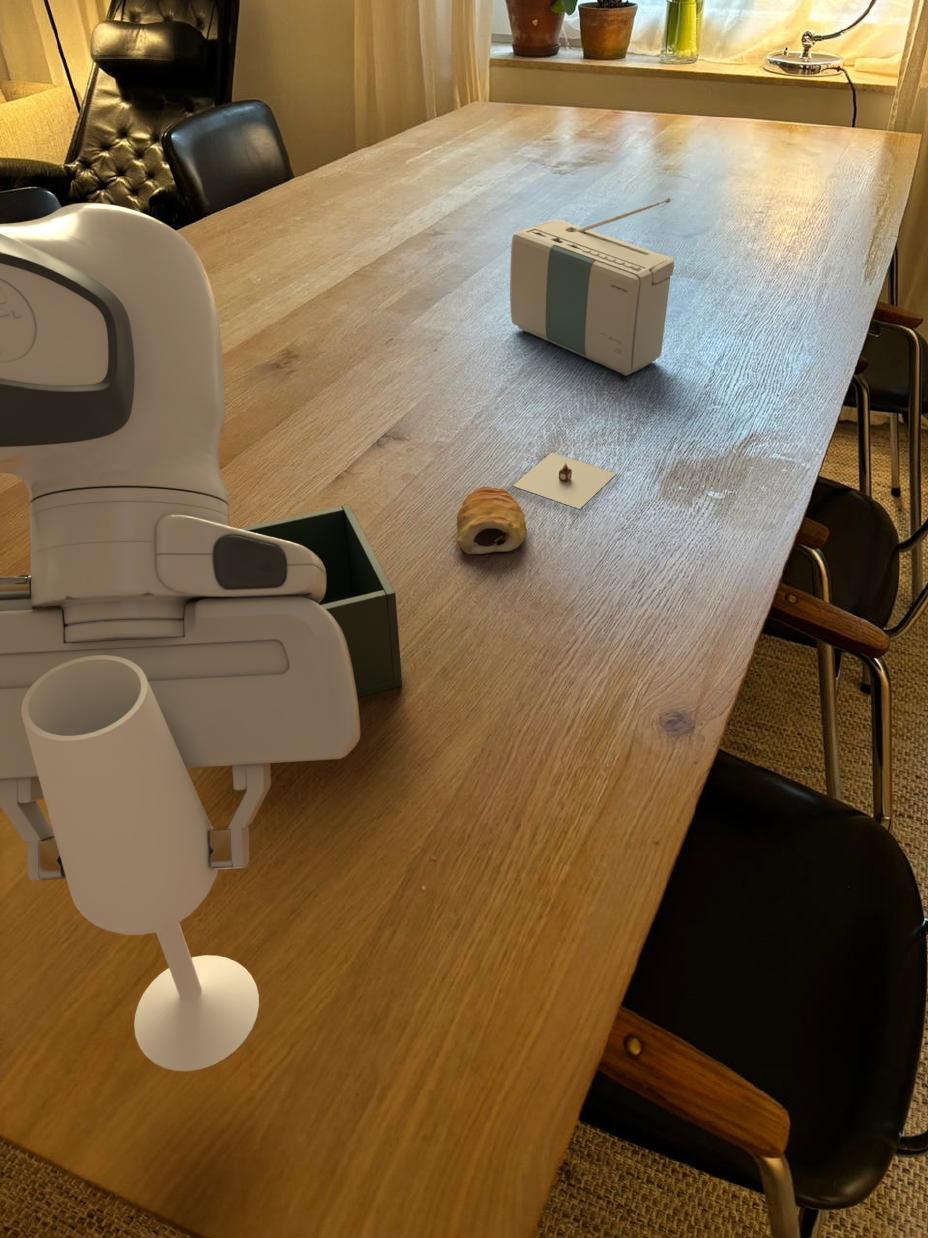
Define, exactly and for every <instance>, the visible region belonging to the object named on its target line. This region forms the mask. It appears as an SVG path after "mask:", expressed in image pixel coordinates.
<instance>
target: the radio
mask: <svg viewBox="0 0 928 1238" xmlns="http://www.w3.org/2000/svg"><path fill="white" fill-rule="evenodd" d="M664 203H665V204H669V203H671V198H670V197H667V198H665V199H664V200H663V201H660V202H656V203H653V204H649V205H647V206H644V207H643V206H642V207H639V208H637V209H634V210H630V211H627V212H624V213H621V214H618V215H615V216H612V217H609V218H606V219H604V220H601V221H597V222H595V223H592V224H589V225H586V226H583V227H582V226H579V225H576V224H573V223H570V222H567V221H564V220H561V219H550V220H548V221H544V222H541V223H537V224H534V225H532V226H531V227H528V228H524V229H521V230H519V231H516V232H514V233H513V234H512V237H511V247H510V248H511V249H510V273H509V274H510V276H509V277H510V279H509V301H510V319H511V323H512V324H513V325H514V326H516V327H518V329H520V330H522V331H523V332H526V333H529V334H531V335H533V336H535V337H538V338H540V339H542V340H545V341H546V342H549V343H552V344H554V345H555V346H558V347H561V348H563V349H565V350H567V351H569V352H572V353H574V354H576V355H578V356H581V357H584V358H586V359H587V360H590V361H592V362H595V363H596V364H599V365H602V366H604V367H605V368H608V369H610V370H613V371H615V372H617V373H619V374H622V375H623V376H629V375H631V374H633V373H636V372H637V371H639V370H641V369H643V368H645V367H646V366H648V365H650V364H652V363H653V362H655V361H656V360H657V359H658V358H660V357H661V355H662V349H663V344H664V343H663V341H664V336H665V335H664V334H665V326H666V318H667V310H668V302H669V294H670V293H669V292H670V284H671V277H672V276H673V273H674V270H675V258H673V257H671V256H667V255H664V254H661V253H658V252H655V251H652V250H650V249H647V248H644V247H641V246H638V245H635V244H633V243H629V242H626V241H623V240H620V239H617V238H614V237H611V236H609V235H606V234H602V233H600V232H596V231H593V229H595V228H598V227H600V226H604V225H607V224H610V223H612V222H616V221H619V220H621V219H624V218H627V217H629V216H632V215H633V216H634V215H635V214H638V213H642V211H645V210H649V209H651V208H653V207H656V206H660V205H661V204H664Z"/></svg>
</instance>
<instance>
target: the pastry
mask: <svg viewBox="0 0 928 1238" xmlns="http://www.w3.org/2000/svg"><path fill="white" fill-rule="evenodd" d="M456 530H457V539H456V544H457V546H458V547H459V548H460V549H461V550H462V551H463V553H465V554H466V555H467V554H468V555H484V554H490V553H496V552H497V553H498V552H499V553H501V552H502V553H503V552H511V551H514V550H515V549H517V548H518V547H519V546H520V545H522V543H523V541H524V540H525V539H526V536H527V534H528V529H527V524H526V519H525V513H524V512H523V510H522V507H521V506H520V505H519V503H518V501H516V500H515V499H514V497H513V496H512V494H511V493H510V492H508V491H507V490H506V489H503V488H497V487H490V486H482V487H479V488H476V489H475V490H474V491H473V492H471V493H469V494H467V496H466V497H465V499H464V500H463V502H462V505H461V507H460V508H459V510H458V513H457V515H456Z"/></svg>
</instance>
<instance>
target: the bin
mask: <svg viewBox="0 0 928 1238" xmlns="http://www.w3.org/2000/svg"><path fill="white" fill-rule="evenodd" d="M238 529H242V530H246V531H250V532H254V533H258V534H262V535H266V536H270V537H274V538H278V539H282V540H286V541H290V542H293V543H296V544H299V545H302V546H304V547H306V548H307V549H309V550H310V551H312V552H313V553H314V554H316V555H317V556H318V557H319V559H320V560H321V561H322V563H323V565H324V567H325V571H326V583H327V584H326V592H325V595H324V598H323V599H322V601H321V602H319V603H318V604H319V605H321V606H322V607H323V608H325V609H326V610H327V611H328V612H329V613H330V614H331V615H332V616H333V618H334V619H335V620H336V622H337V623H338V624H339V626H340V628H341V629H342V632H343V634H344V637H345V639H346V643H347V647H348V651H349V655H350V659H351V664H352V668H353V674H354V679H355V685H356V692H357V699H358V698H362V697H366V696H370V695H373V694H377V693H381V692H385V691H388V690H391V689H396V688H399V687H402V686H403V676H402V663H401V649H400V636H399V625H398V610H397V609H398V608H397V596H396V595H397V594H396V591H395V589H394V588H393V586H392V583H391V581H390V579H389V577H388V576H387V574H386V572H385V570H384V568H383V566H382V564H381V562H380V561H379V558H378V557H377V555H376V553H375V551H374V549H373V547H372V545H371V543H370V541H369V539H368V538H367V536H366V534H365V531H364V529H363V527H362V525H361V524H360V522H359V520H358V518H357V516H356V514H355V512H354V511H353V508H352V506H351V504H344V505H340V506H336V507H331V508H326V509H321V510H317V511H312V512H307V513H303V514H298V515H294V516H289V517H285V518H279V519H274V520H269V521H266V522H261V523H260V522H259V523H255V524H252V525H247V526H243V527H238Z"/></svg>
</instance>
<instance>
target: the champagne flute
mask: <svg viewBox="0 0 928 1238" xmlns="http://www.w3.org/2000/svg"><path fill="white" fill-rule="evenodd" d="M21 711H22V718H23V722H24V726H25V729H26V733H27V737H28V740H29V744H30V748H31V751H32V755H33V759H34V762H35V766H36V770H37V773H38V777H39V781H40V784H41V788H42V792H43V795H44V799H43V800H44V803H45V806H46V811H47V813H48V817H49V821H50V826H51V828H52V829H53V832H54V836H55V839H56V843H57V847H58V850H59V854H60V858H61V861H62V865H63V869H64V872H65V876H66V878H65V880H66V883H67V886H68V891H69V894H70V896H71V899H72V902H73V904H74V906H75V908H76V909H77V910H78V912H79V913H80V915H82V916H83V917H84V918H85V919H86V920H88V921H89V922H90V923H91V924H92V925H94V926H96V927H98V928H100V929H103V930H104V931H107V932H111V933H114V934H120V935H123V936H142V935H149V934H156V936H157V939H158V942H159V945H160V947H161V950H162V953H163V955H164V958H165V961H166V963H167V967H168V968H166V969H165V970H164V971H162V972H161V973H160V974H158V976H156V978H155V979H153V980H152V981H151V983H150V984H149V985H148V987H147V988H146V989H145V991H144V992H143V994H142V996H141V998H140V1000H139V1001H138V1004H137V1007H136V1010H135V1013H134V1024H133V1027H134V1028H133V1029H134V1036H135V1040H136V1042H137V1044H138V1048H139V1049H140V1050H141V1052H142V1053H143V1054H144V1056H145V1057H146V1058H147V1059H148V1060H150V1061H151V1062H152V1063H153V1064H155V1065H158V1066H159V1067H161V1068H163V1069H166V1070H171V1071H175V1072H192V1071H199V1070H203V1069H205V1068H208V1067H211V1066H214V1065H216V1064H217V1063H219V1062H221V1061H223V1060H225V1059H226V1058H227V1057H229V1056H231V1054H233V1053H234V1052H236V1051H237V1049H238V1048H239V1047H240V1046H241V1045H242V1044H243V1043H244V1042H245V1041H246V1039H247V1038H248V1037H249V1034H250V1033H251V1031H252V1030H253V1027H254V1025H255V1023H256V1020H257V1017H258V1013H259V1007H260V995H259V990H258V986H257V983H256V981H255V980H254V978H253V976H252V975H251V973H250V972H249V971H248V970H247V969H246V967H244V966H243V965H241V964H240V963H239V962H238V961H236V960H233V959H230V958H228V957H225V956H220V955H207V954H205V955H198V956H192V955H191V953H190V950H189V946H188V944H187V941H186V938H185V935H184V932H183V930H182V927H181V922H182V921H184V920H185V919H187V917H189V916H190V915H191V914H192V913H193V912H194V911H196V910H197V908H199V906H200V905H201V904H202V903H203V901H204V900H205V899H206V898H207V896H208V894H209V893H210V891H211V889H212V887H213V885H214V883H215V882H216V880H217V876H218V873H219V869H212V868H211V863H210V856H211V854H212V852H213V850H212V848H211V847H210V836H209V831H210V830H212V829H214V828H213V825H212V824H211V821H210V819H209V817H208V814H207V812H206V810H205V807H204V806H203V803H202V801H201V799H200V796H199V794H198V792H197V790H196V787H195V785H194V783H193V780H192V779H191V776H190V774H189V772H188V768H186V767H185V764H184V762H183V760H182V758H181V755H180V753H179V751H178V748H177V746H176V744H175V742H174V739H173V737H172V735H171V732H170V730H169V728H168V726H167V723H166V721H165V719H164V717H163V714H162V712H161V710H160V707H159V705H158V703H157V701H156V698H155V696H154V694H153V691H152V689H151V687H150V685H149V682H148V680H147V678H146V676H145V674H144V672H143V670H142V669H141V668H140V667H139V666H138V665H136V664H135V663H133V662H131V661H130V660H127V659H124V658H121V657H116V656H110V655H96V656H87V657H82V658H78V659H74V660H71V661H69V662H66V663H63V664H61V665H59V666H57V667H55V668H53V669H51V670H50V671H48V672H47V673H45V674H44V675H42V676H41V677H40V678H39V679H38V680H37V681H36V682H35V683H34V684H33V685H32V686H31V687H30V689H29V690H28V691H27V693H26V695H25V697H24V699H23V703H22V707H21Z"/></svg>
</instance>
